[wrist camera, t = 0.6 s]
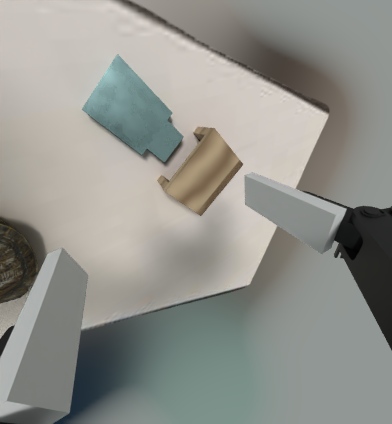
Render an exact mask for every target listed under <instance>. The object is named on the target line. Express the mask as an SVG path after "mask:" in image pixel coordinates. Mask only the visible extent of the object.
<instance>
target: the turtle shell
mask: <svg viewBox="0 0 392 424" xmlns="http://www.w3.org/2000/svg"><path fill="white" fill-rule="evenodd" d="M38 272H39V271H38V263H37V261H36V258H35V255H34V252H33V250H32V249H31V247H30V245H29V243H28V241H27V240H26V239H25V238H24V236H23V235H22V234H21V233H19V232H18V231H16V230H14V229H13V228H12V227H10V226H9V225H7V224H6V223H4V222H3V221H1V220H0V303H3V302H8V301H10V300H14V299H16V298H20V297H22V295H25V293H27V292H28V288H29V287H30V286H32V285H34V283H35V280H36V278H37V276H38Z"/></svg>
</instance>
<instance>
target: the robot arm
mask: <svg viewBox="0 0 392 424" xmlns="http://www.w3.org/2000/svg"><path fill="white" fill-rule="evenodd" d="M245 205H247V206H248V207H250V208H251V209H253V210H254V211H256V212H258V213H259V214H261V215H262V216H264V217H265V218H267V219H268V220H270V221H271V222H273V223H275V224H276V225H278V226H279V227H281V228H282V229H284V230H285V231H287V232H288V233H290V234H292V235H293V236H295V237H296V238H298V239H299V240H301V241H302V242H304V243H305V244H307V245H308V246H311V247H312V248H313V249H315V250H316V251H318V252H319V253H321V254H322V253H324V252H326V251H327V250H329V249H330V248H331V247H332V244H333V242H334V240H335V241H337V242H338V243H339V244H338V247H337V249H336V251H335V253H334V257H335V258H337V257H338V254H339V252H341V256H340V258H344V260H345V262H346V264H347V266H348V268H349V270H350V271H351V273H352V275H353V277H354V279H355V281H356V283H357V285H358V287H359V289H360V291H361V292H362V294H363V296H364V298H365V300H366V302H367V304H368V306H369V308H370V310H371V312H372V313H373V315H374V317H375V319H376V321H377V323H378V325H379V327H380V329H381V331H382V333H383V334H384V336H385V338H386V340H387V342H388V344H389V346H390V348H391V350H392V206H391V208H386V209H378V208H375V207H369V206H360V207H356V208H355V209H353V208H350V207H347V206H344V205H342V204H339V203H336V202H334V201H331V200H328V199H324V198H323V197H320V196H317V195H315V194H312V193H310V192H305V191H300V190H296V189H294V188H291V187H289V186H286V185H284V184H281V183H279V182H276V181H273V180H271V179H268V178H266V177H263V176H261V175H258V174H255V173H253V172H252V173H249V174H247V175H245ZM87 281H88V274H87V273H86V272H85V271H84V270H83V269H82V268H81V267H80V266H79V265H78V264H77V263H76V262H75V260H74V259H73V258H72V257H71V256H70V255H69V254H68V253H67V252H66V251H65V250H64V249H63V248H60V249H57V250H55V251H52V252H50V253H48V254H47V256H46V258H45V261H44V263H43V265H42V267H41V269H40V272H39V274H38V276H37V278H36V280H35V283H34V285H33V287H32V289H31V291H30V294H29V296H28V298H27V300H26V302H25V305H24V307H23V309H22V311H21V313H20V316H19V318H18V320H17V322H16V324H15V325H14V326H12V327H10V328H8V330H7V331H6V332H5V334H4V335H3V336H2V337H1V339H0V424H53V423H54V422H56V421H57V420H59V419H61V418H62V417H64V416H65V415H67V414H68V413H69V412H70V405H71V398H72V390H73V383H74V376H75V369H76V362H77V354H78V347H79V340H80V332H81V325H82V318H83V310H84V303H85V296H86V288H87Z"/></svg>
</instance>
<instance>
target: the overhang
mask: <svg viewBox="0 0 392 424" xmlns="http://www.w3.org/2000/svg"><path fill="white" fill-rule="evenodd" d="M194 134H195V135H196V136H197V137H198V138H199V140H200V142H199V143H198V145H197V146H196V147H195V149H194V150H193V151H192V153H191V154H190V155H189V157H188V158H187V159H186V160H185V162H184V163H183V164H182V166H181V167H180V168H179V170H178V171H177V172H176V173H175V175H174V176H173V177H172V179H171V180H170V181H169V180H167V179H166V178H165V177H163V176H162V175H161V176H160V178H159V179H158V180H157V181H158V182H159V184H160V185H161V186H162V188H163V189H164V191H165V192H166V193H168V194H169V195H171V196H172V197H174V198H175V199H177V200H178V201H180V202H181V203H183V204H184V205H186V206H187V207H188V208H190V209H191V210H193V211H194V212H196V213H197V214H199V215H200V216H201V215H202V214H203V213H204V212H205V211H206V209H207V208H208V207H209V206H210V204H211V203H212V202H213V201H214V200H215V198H216V197H217V196H218V195H219V193H220V192H221V191H222V190H223V189H224V187H225V186H226V185H227V184H228V183H229V181H230V180H231V179H232V178H233V176H234V175H235V174H236V173H237V172H238V170H239V169H240V168H241V167H242V165H243V163H242V162H241V161H240V160H239V158H238V157H237V156H236V155H235V153H234V152H233V151H232V150H231V148H230V147H229V146H228V145H227V143H226V142H225V141H224V140H223V138H222V137H221V136H220V134H219V133H218V132H217V131H216V129H215V128H206V127H197V129H196V130H195V131H194Z"/></svg>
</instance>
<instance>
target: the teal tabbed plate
mask: <svg viewBox="0 0 392 424" xmlns="http://www.w3.org/2000/svg"><path fill="white" fill-rule="evenodd" d="M82 110H83V111H84V112H86V113H87V114H88V115H90V116H91V117H92V118H94V119H95V120H96V121H98V122H99V123H100V124H102V125H103V126H104V127H105V128H107V129H108V130H109V131H111V132H112V133H113V134H115V135H116V136H117V137H119V138H120V139H121V140H123V141H124V142H125V143H126V144H128V145H129V146H130V147H132V148H133V149H134V150H136V151H137V152H138V153H140V154H141V155H143V153H144V152H145V150H146V149H148V150H149V151H151V152H152V153H153V154H154V155H156V156H157V157H158V158H159V159H161V160H162V161H163V162H164V163H165V161H166V160H167V159H168V157H169V156H170V155H171V153H172V152H173V151H174V149H175V148H176V147H177V145H178V144H179V143H180V141H181V140H182V139H183V136H182V135H181V134H180V133H179V132H178V131H177V130H176V129H175V128H174V127H173V126H172V125H171V124H170V123H169V121H168V119H169V117H170V116H171V114H172V112H171V111H170V110H169V109H168V108H167V107H166V105H165V104H164V103H163V102H162V101H161V100H160V99H159V98H158V97H157V96H156V95H155V94H154V93H153V91H152V90H151V89H150V88H149V87H148V86H147V85H146V84H145V83H144V82H143V81H142V80H141V79H140V78H139V76H138V75H137V74H136V73H135V72H134V71H133V70H132V69H131V68H130V67H129V66H128V65H127V64H126V63H125V61H124V60H123V59H122V58H121V57H120V56H119V55H118V54H117V56H116V57H115V59H114V60H113V62H112V63H111V65H110V66H109V68H108V70H107V71H106V73H105V74H104V76H103V77H102V79H101V80H100V82H99V84H98V85H97V87H96V88H95V90H94V91H93V93H92V94H91V96H90V98H89V99H88V101H87V102H86V104H85V105H84V107H83V108H82Z"/></svg>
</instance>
